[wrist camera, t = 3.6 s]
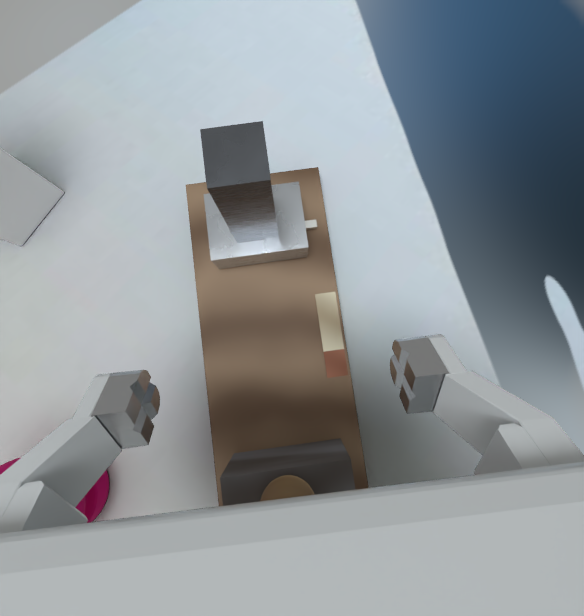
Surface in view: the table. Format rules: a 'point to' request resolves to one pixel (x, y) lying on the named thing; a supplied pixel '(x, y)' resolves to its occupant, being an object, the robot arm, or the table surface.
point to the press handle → (249, 201)
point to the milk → (23, 199)
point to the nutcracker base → (277, 365)
